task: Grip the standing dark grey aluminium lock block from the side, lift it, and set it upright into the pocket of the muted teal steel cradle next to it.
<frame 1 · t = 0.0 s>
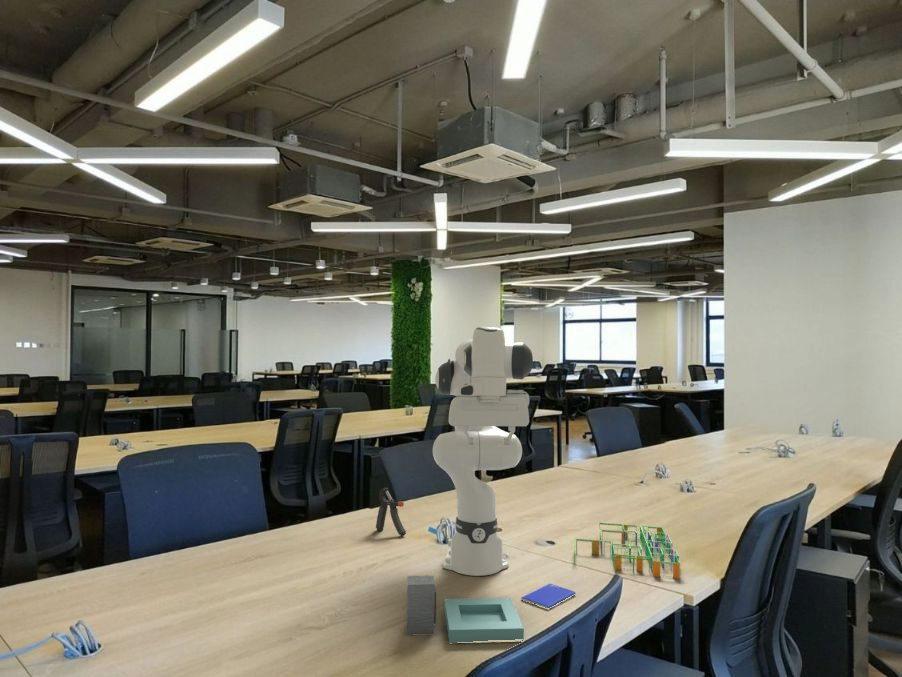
hand: (488, 444, 153), 39 cm above the table, tool pointing down, fingers open, 8 cm apart
house model: (622, 556, 189), on the table
lock block: (420, 629, 136), on the table
hand grip strengthener: (390, 534, 206), on the table
blue book: (548, 601, 154), on the table
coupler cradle: (481, 626, 138), on the table
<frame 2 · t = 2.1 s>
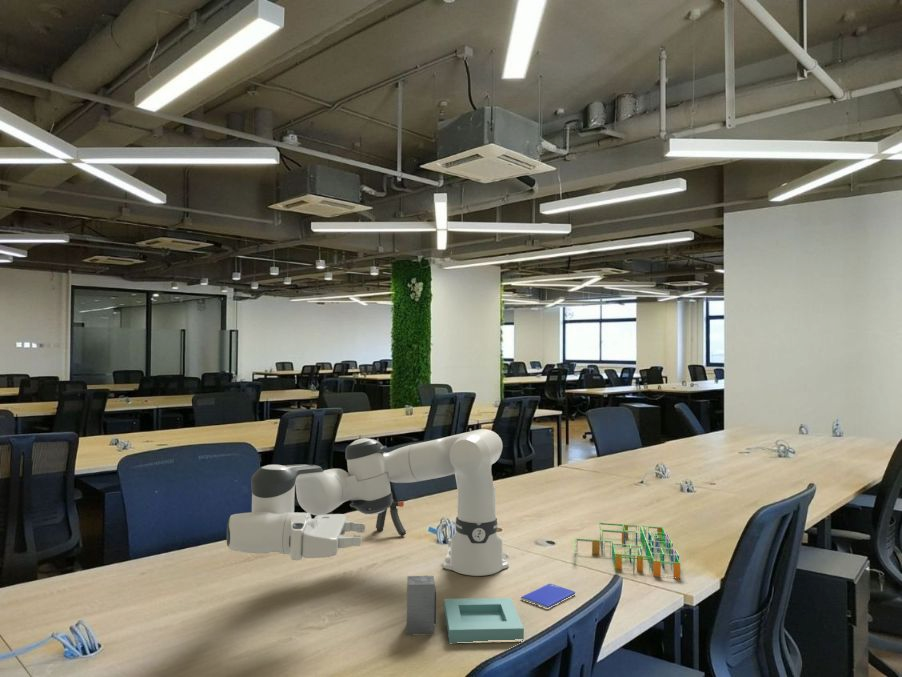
hand: (363, 534, 136), 21 cm above the table, tool horizontal, fingers open, 8 cm apart
nothing on the table moved.
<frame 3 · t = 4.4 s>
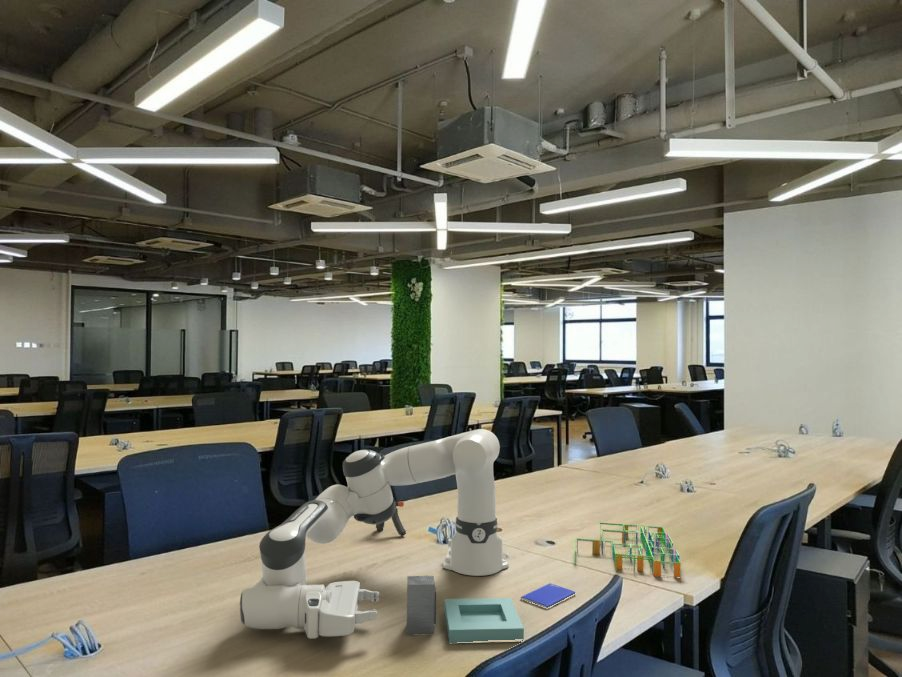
hand: (378, 605, 135), 6 cm above the table, tool horizontal, fingers open, 8 cm apart
nothing on the table moved.
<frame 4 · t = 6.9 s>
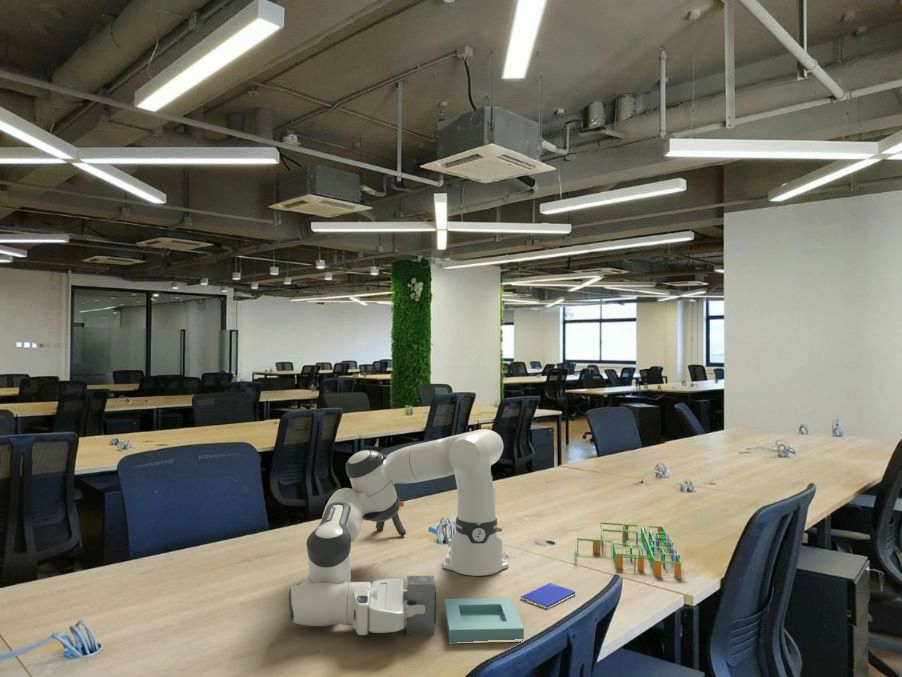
hand: (424, 602, 136), 6 cm above the table, tool horizontal, fingers closed on lock block, 5 cm apart
lock block: (420, 629, 136), on the table, touching gripper
everything else where it was.
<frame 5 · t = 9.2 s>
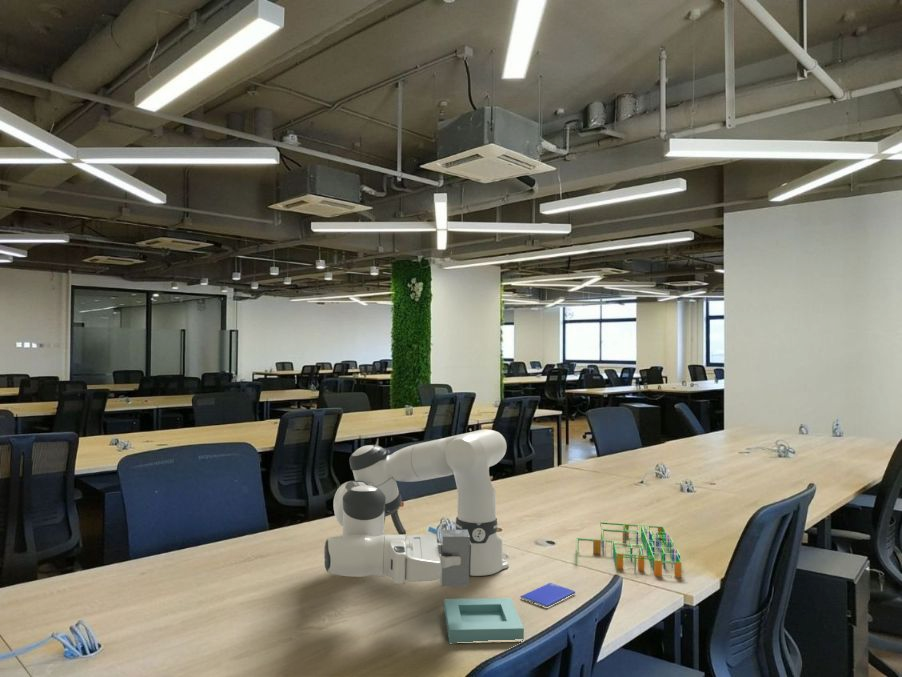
hand: (459, 555, 137), 16 cm above the table, tool horizontal, fingers closed on lock block, 5 cm apart
lock block: (454, 582, 137), point 10 cm above the table, touching gripper
everything else where it was.
when the fingers open (8 cm above the table, at t = 11.8 s): lock block drops 1 cm, resting on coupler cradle.
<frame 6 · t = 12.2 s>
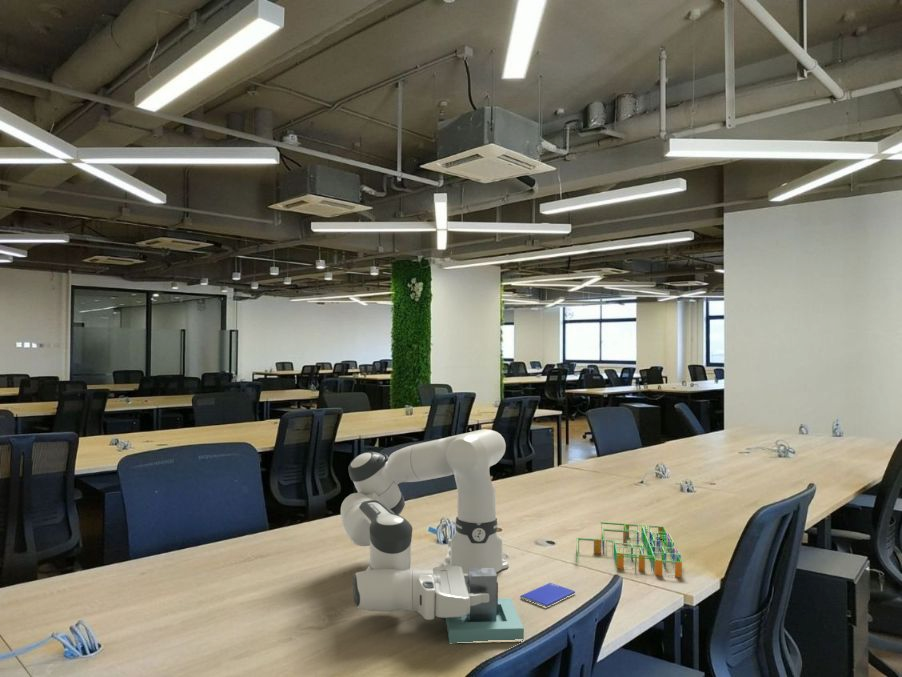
hand: (486, 588, 138), 8 cm above the table, tool horizontal, fingers open, 8 cm apart
lock block: (481, 620, 138), point 1 cm above the table, touching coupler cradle
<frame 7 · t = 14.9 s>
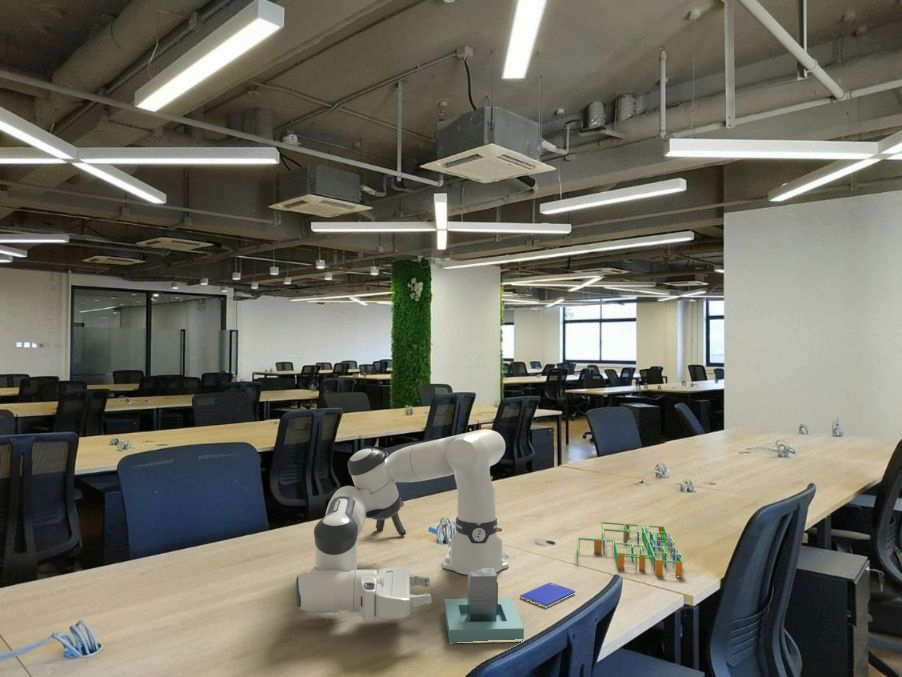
hand: (430, 589, 137), 8 cm above the table, tool horizontal, fingers open, 8 cm apart
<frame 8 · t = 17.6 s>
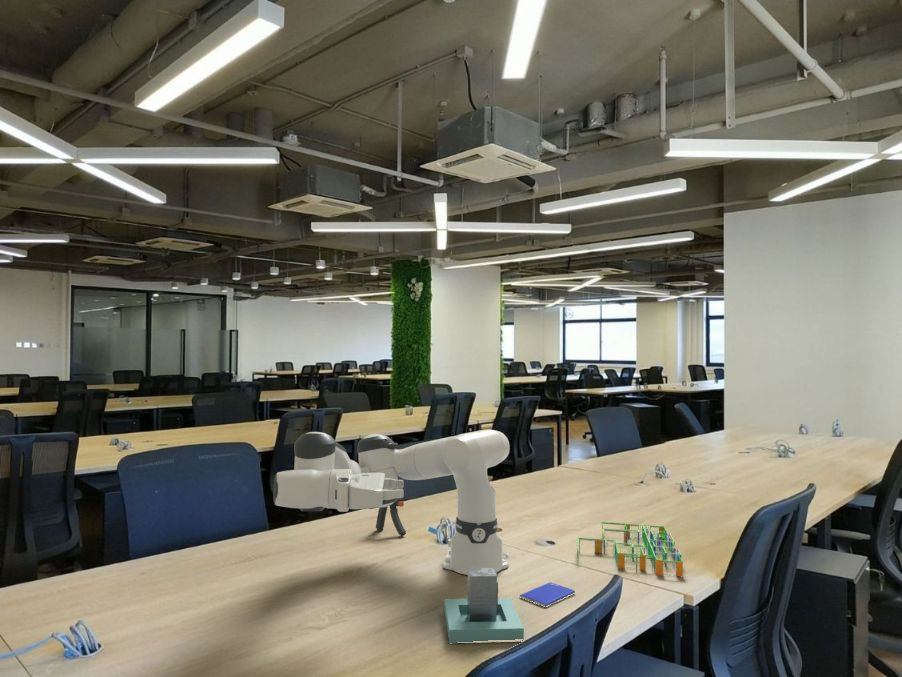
hand: (403, 488, 142), 30 cm above the table, tool horizontal, fingers open, 8 cm apart
at the end: lock block 0.1 cm off-centre on the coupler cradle, point 1.2 cm above the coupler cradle's base; lock block tilted 0°; the gripper is holding nothing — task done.
